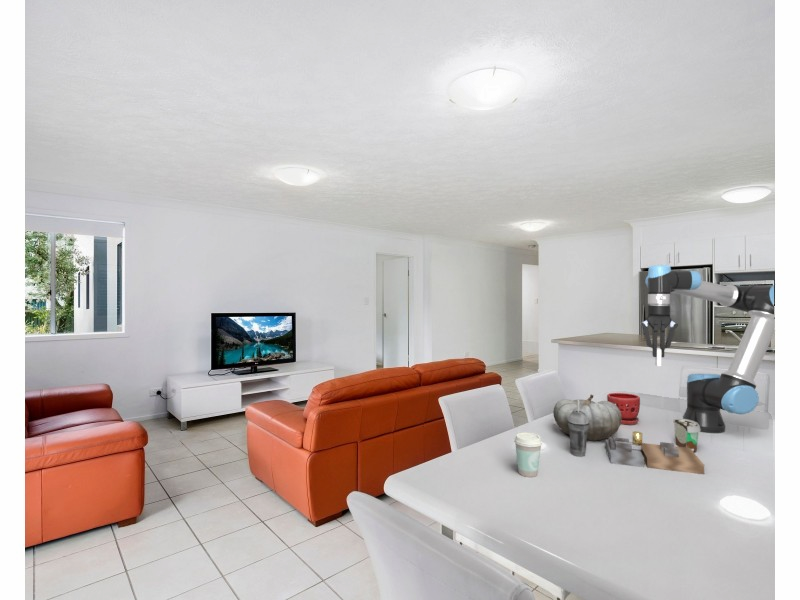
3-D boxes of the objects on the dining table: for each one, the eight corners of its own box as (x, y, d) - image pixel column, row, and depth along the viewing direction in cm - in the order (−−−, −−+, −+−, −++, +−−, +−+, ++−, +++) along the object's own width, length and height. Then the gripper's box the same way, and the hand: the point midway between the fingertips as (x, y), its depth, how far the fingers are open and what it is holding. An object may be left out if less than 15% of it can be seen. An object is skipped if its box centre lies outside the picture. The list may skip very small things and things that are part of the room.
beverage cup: (589, 452, 158) (589, 397, 157) (588, 459, 151) (589, 402, 151) (568, 449, 161) (568, 395, 161) (566, 456, 154) (566, 399, 154)
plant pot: (640, 420, 197) (641, 394, 197) (638, 428, 186) (638, 400, 186) (609, 416, 204) (609, 390, 204) (605, 423, 193) (605, 396, 193)
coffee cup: (527, 481, 134) (527, 442, 134) (508, 471, 142) (508, 434, 141) (547, 475, 138) (548, 438, 138) (528, 466, 146) (528, 430, 145)
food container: (707, 456, 154) (707, 428, 154) (687, 454, 156) (688, 426, 155) (691, 444, 166) (691, 418, 166) (673, 443, 168) (673, 417, 167)
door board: (689, 456, 154) (689, 441, 154) (704, 474, 139) (704, 457, 139) (605, 447, 163) (605, 432, 163) (610, 463, 148) (610, 447, 148)
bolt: (641, 447, 153) (641, 431, 153) (643, 450, 150) (643, 434, 150) (614, 445, 156) (614, 429, 156) (615, 447, 153) (615, 431, 153)
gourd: (615, 445, 158) (608, 396, 160) (547, 442, 172) (542, 397, 175) (629, 434, 177) (623, 391, 180) (567, 433, 192) (562, 393, 195)
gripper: (641, 305, 168) (641, 366, 169) (680, 305, 164) (680, 368, 164) (638, 304, 175) (637, 363, 176) (675, 305, 171) (675, 365, 171)
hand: (658, 365), depth 170 cm, fingers closed
